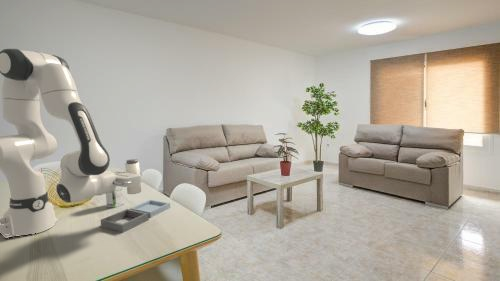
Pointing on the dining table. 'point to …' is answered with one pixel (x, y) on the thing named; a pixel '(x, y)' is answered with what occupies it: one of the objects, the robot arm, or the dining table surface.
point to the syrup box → (115, 197)
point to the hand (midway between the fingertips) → (134, 173)
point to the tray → (152, 207)
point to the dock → (138, 219)
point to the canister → (134, 168)
